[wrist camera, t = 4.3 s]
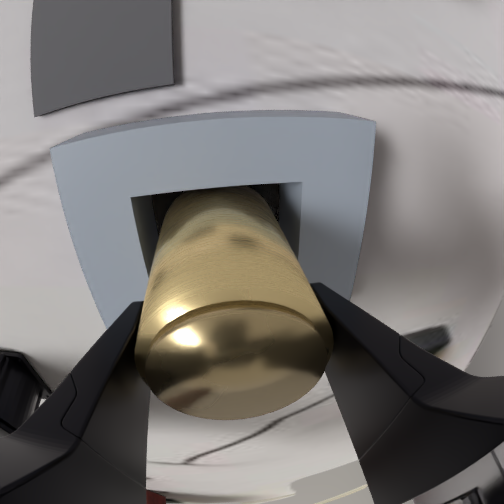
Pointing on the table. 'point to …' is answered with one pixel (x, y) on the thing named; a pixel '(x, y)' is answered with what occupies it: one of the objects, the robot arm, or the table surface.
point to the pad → (98, 49)
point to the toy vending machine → (154, 498)
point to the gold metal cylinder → (228, 311)
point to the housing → (211, 176)
